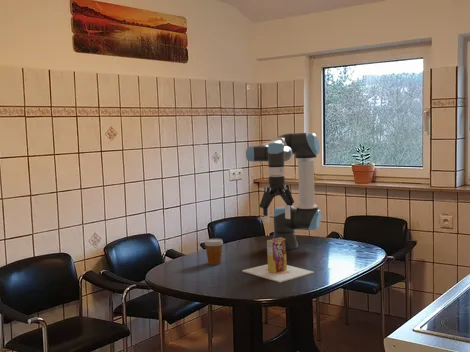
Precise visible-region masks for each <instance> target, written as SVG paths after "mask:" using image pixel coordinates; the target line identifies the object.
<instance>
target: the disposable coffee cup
mask: <svg viewBox="0 0 470 352" xmlns="http://www.w3.org/2000/svg"><path fill="white" fill-rule="evenodd" d="M223 241H224V240H223V238H209V239H205V241H204V246H205V250H206V256H207V263H208V265H211V266H217V265H220V264H221V263H222V255H223V254H222V253H223V245H224V242H223Z"/></svg>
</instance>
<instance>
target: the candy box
mask: <svg viewBox="0 0 470 352" xmlns="http://www.w3.org/2000/svg"><path fill="white" fill-rule="evenodd" d="M266 253H267V256H266V257H267V264H268V272H271V273H276V272H280V271H283V270H287V265H288V264H287V263H288V262H287V250H286V241H285V238H281V237H280V238H275V239H273V238H272V239H267V240H266Z"/></svg>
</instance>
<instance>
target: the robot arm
mask: <svg viewBox="0 0 470 352" xmlns="http://www.w3.org/2000/svg"><path fill="white" fill-rule="evenodd" d="M320 147H321V146H320V140H319V138H318V136H317V134H316V133H315V132H301V133H300V132H298V133H297V132H296V133H295V132H294V133H284V134H281V135H278V136H276V137H273V138H272V139H271V140H270V141H268V142H265V143H262V144H260V145H251V146H250V145H249V146H248V147H246V150H245V159H246V160H247V161H248V162H252V163H254V162H267V165H268V184H269V187H267V186H265V187H264V188H263V189H264V190H263V194H262V198H261V201H260V203H259V208H261V209H262V212H263V213H262V215H263V216H264V218H263V219H264V220H263V222H264V223H265V224H266V223H267V224H270V208H269V206H270V205H271V203H272V202H273V199H274V198H275V197H278V196H280V198H282V200H283V202H284V203H285V205H283V206H281V207H280V206H279V207H275V209H274V210H273V236H272V239H275V238H280V237H281V238H285V241H286V251H288V250H295V249H297V248H298V247H299V243H298V241H297V237H296V233H295V231H297V230H300V231H301V230H302V231H317V230H318V229H319V228H320V225H321V221H322V210H321V209H319V208H318V207H319V206H318V204H316V200H315V199H316V197H315V195H316V194H315V193H316V192H315V162H314V161H315V160H316V159H317V155H319V154H320ZM293 155H294V159H296V161H297V170H298V173H297V174H298V175H297V176H298V199H299V200H298V202H299V203H298V204H297V205H296V208H295V206H294V203H295V200H294V198H293V195H292V193H291V190H290V185H289V184H285V183H286V182H285V181H286V178H285V162H288V161H289V160H290V159H291V158H292V156H293Z"/></svg>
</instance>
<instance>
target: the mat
mask: <svg viewBox="0 0 470 352" xmlns="http://www.w3.org/2000/svg"><path fill="white" fill-rule="evenodd" d="M242 273H245V274H246V273H247V274H250V275H253V276H256V277H260V278H263V279H266V280H270V281H272V282H273V281H274V282H276V283H283V282H287V281H291V280H294V279H298V278H302V277H305V276H308V275H312V274H314V273H315V271H312V270H307V269H305V268H301V267H296V266H292V265H288V264H287V270H283V271H280V272H276V273H271V272H268V263H267V264H263V265H258V266H255V267H254V266H253V267H250V268H245V269H243V270H242Z"/></svg>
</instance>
